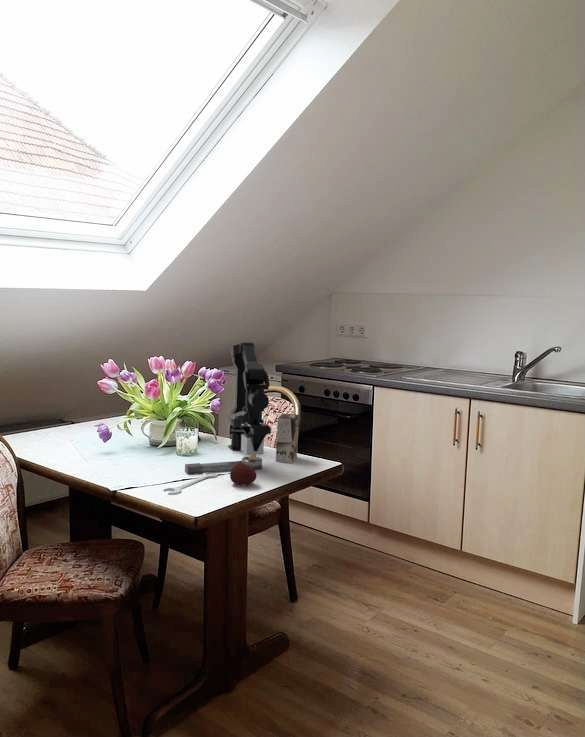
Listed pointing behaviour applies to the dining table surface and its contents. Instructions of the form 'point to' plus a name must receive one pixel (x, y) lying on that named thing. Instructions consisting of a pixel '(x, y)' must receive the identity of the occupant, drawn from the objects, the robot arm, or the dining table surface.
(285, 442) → the coffee box
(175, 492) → the wrench
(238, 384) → the robot arm
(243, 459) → the ratchet
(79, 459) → the dining table surface
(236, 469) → the potato
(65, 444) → the dining table surface
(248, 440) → the socket
